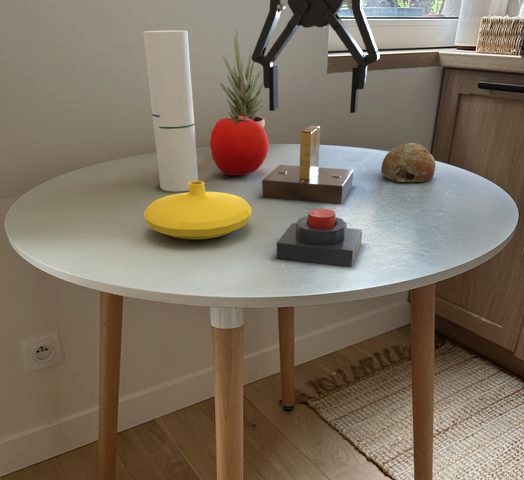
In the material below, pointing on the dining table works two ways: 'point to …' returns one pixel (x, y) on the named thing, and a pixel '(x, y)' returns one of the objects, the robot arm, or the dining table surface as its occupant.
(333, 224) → the red button
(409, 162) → the bread roll
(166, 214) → the vase
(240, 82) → the potted plant
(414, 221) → the dining table surface
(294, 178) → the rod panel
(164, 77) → the cylindrical container
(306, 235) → the button block
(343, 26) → the robot arm
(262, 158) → the tomato
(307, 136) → the upright wooden block
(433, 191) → the dining table surface
